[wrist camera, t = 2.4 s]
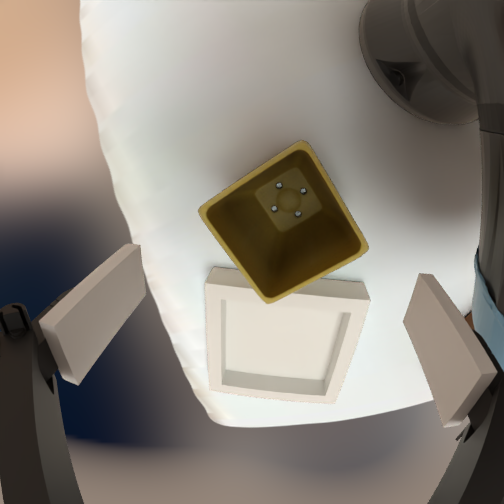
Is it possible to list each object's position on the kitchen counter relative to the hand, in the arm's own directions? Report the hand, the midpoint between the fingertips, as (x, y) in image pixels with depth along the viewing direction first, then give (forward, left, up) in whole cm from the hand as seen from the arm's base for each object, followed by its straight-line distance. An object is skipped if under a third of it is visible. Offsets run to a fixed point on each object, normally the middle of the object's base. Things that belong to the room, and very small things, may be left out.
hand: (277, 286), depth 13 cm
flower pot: (0, 0, -16) cm, 16 cm away
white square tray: (+16, +1, -16) cm, 23 cm away
